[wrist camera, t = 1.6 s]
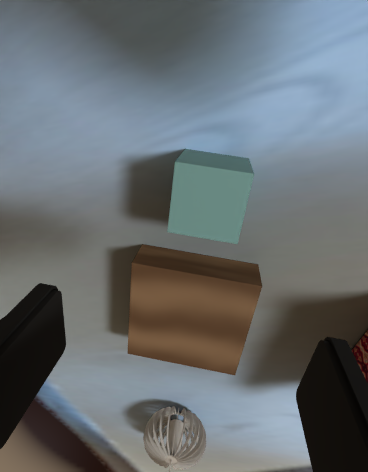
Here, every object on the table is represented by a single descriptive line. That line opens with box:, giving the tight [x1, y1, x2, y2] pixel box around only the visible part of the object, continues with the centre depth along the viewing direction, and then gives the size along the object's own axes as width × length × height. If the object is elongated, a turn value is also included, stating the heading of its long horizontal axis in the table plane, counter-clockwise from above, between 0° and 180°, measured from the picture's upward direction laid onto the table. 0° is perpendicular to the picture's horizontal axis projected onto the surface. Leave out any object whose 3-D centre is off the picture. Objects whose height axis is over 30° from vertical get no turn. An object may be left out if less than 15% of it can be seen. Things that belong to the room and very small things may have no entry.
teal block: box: [168, 149, 254, 244], centre depth 25 cm, size 6×6×6 cm
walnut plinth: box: [128, 244, 262, 375], centre depth 33 cm, size 13×13×4 cm
